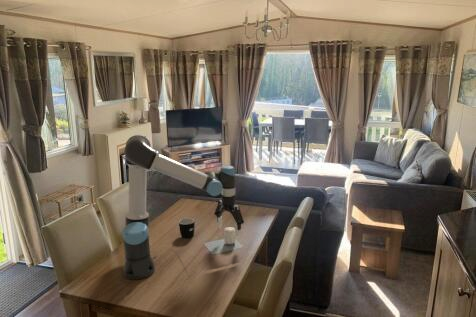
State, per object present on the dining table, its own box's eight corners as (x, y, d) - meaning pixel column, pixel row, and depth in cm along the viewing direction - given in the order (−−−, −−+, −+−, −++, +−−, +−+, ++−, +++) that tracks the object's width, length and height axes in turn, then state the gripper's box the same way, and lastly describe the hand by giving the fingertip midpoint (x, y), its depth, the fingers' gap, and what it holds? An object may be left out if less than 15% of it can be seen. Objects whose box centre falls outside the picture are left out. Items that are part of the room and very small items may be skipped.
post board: (212, 256, 188) (211, 242, 186) (203, 245, 201) (203, 231, 199) (243, 249, 196) (243, 235, 194) (233, 238, 208) (232, 225, 206)
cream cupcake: (234, 243, 196) (234, 231, 194) (223, 243, 197) (223, 231, 195) (235, 238, 202) (235, 227, 200) (225, 238, 202) (224, 226, 201)
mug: (190, 241, 205) (189, 225, 203) (176, 239, 209) (175, 223, 207) (200, 233, 216) (199, 217, 214) (187, 230, 220) (186, 215, 217)
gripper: (250, 198, 187) (250, 235, 192) (217, 188, 203) (217, 222, 208) (240, 201, 182) (241, 240, 187) (207, 191, 198) (208, 227, 203)
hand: (228, 231), depth 198 cm, fingers open, 13 cm apart
